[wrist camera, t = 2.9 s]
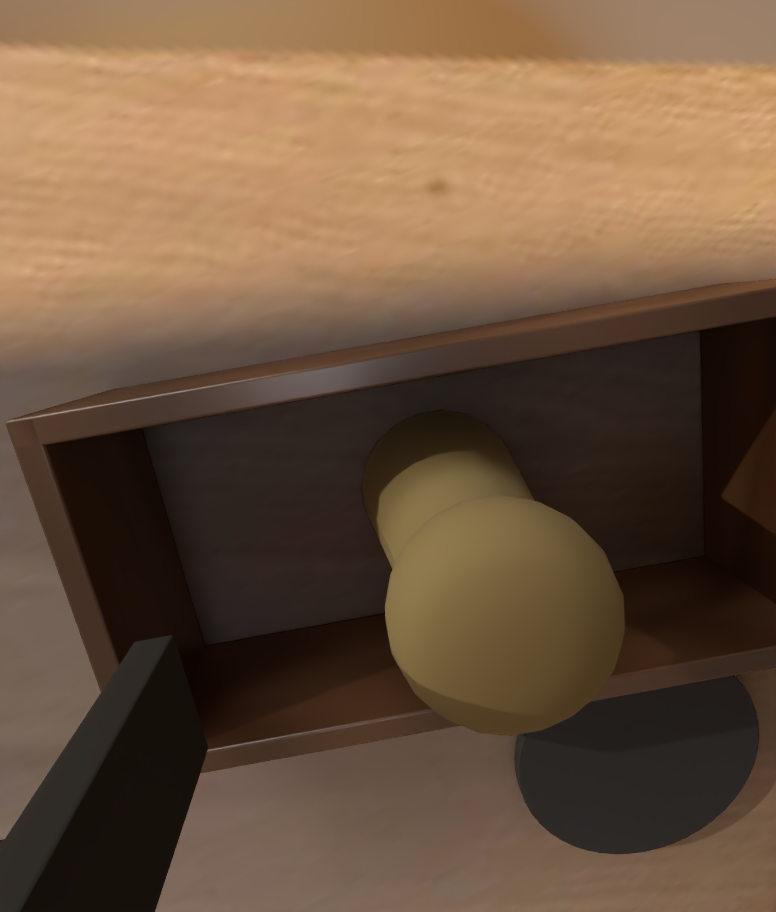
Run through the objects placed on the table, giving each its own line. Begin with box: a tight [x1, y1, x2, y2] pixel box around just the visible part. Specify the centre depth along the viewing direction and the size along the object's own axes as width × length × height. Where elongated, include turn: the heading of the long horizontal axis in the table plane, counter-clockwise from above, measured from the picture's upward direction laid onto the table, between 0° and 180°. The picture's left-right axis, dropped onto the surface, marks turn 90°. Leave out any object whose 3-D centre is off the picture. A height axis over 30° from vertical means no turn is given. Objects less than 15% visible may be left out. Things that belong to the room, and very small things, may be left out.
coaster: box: [515, 675, 759, 854], centre depth 24 cm, size 11×11×1 cm
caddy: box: [6, 279, 776, 773], centre depth 18 cm, size 23×12×6 cm, turn 100°
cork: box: [362, 410, 625, 736], centre depth 16 cm, size 6×6×11 cm
